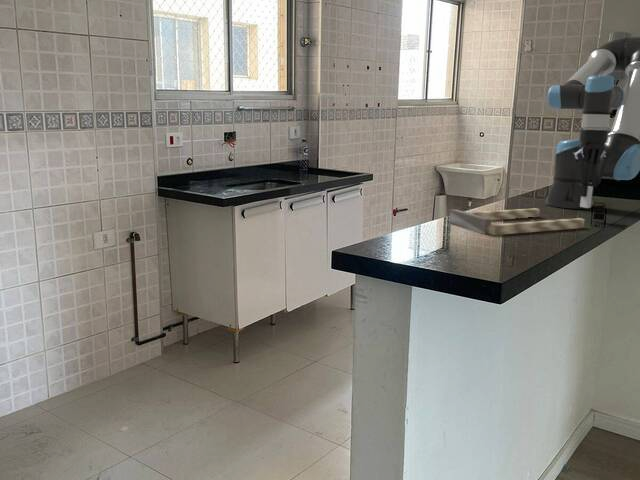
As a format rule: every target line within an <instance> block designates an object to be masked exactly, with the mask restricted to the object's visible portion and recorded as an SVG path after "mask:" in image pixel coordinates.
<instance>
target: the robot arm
mask: <svg viewBox="0 0 640 480" xmlns="http://www.w3.org/2000/svg"><path fill="white" fill-rule="evenodd" d="M614 72H625V75H626V76H627V79H626V82H625V86H624V88H622V86H619V85H618V84H615V77H614V76H613V75H610V74H612V73H614ZM546 99H547V106H548V107H549V108H550V109H552V110H554V109H557V110H582V117H581V119H582V120H581V126H580V127H581V128H582V129H581V130H580V133H579V139H577V138H576V139H568V140H566V139H565V140H560V141H559V142H558V143H557V145H556V152H555V160H554V169H553V180H552V185H551V187H550V189H549V192H548V194H547V196H546V198H545V204H546V205H547V206H549V207H555V208H561V209H562V208H563V209H573V210H574V209H577V210H578V209H579V210H580V209H583V210H584V209H591V208H592V207H593V199H592V198H593V196H594V189H595V187H597V186H598V185H600V184H601V182H602V179H607V180H616V181H621V180H622V181H629V180H632V179H634V178H636V176H637V175H638V174H639V172H640V138H639V136H640V36H629V37H628V36H626V37H625V36H623V37H622V36H621V37H618V38H615V39H613V40H610V41H608V42H605V43H604V44H602V45H600V46H599V47H597V48H596V49H595V50H594V51H592V53H591V54H590V55H589V56H588V58H587V62H585V63H584V64H583V65H582V66H581V67H579V69H578V70H577V71H576V72H575V73H574V74H572V76H571V77H569V79H568V80H567V81H566V82H564V84H558V85H557V84H555V85H554V84H553V85H551V86H550V87H549V89H548V91H547V97H546ZM614 110H617V111H616V114H615V117H614V120H613V123H612V126H611V130H610V132H609V131H608V130H607V129H609V127H610V118H611V111H614Z"/></svg>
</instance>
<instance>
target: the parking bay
mask: <svg viewBox="0 0 640 480" xmlns="http://www.w3.org/2000/svg"><path fill="white" fill-rule="evenodd" d="M540 210H541V209H540V208H536V207H533V208H532V207H531V208H517V209H501V210H483V211H469V212H467V211H464V210H463V211H462V210H459V209H450V210H449V221H448V222H449V224H450V225H452V226H453V225H454V226H457V227H460V228H462V229H463V228H464V229H467V230H470V231H473V232H475V233H480V234H483V235H492V236H500V235H514V234H525V233H537V232H538V233H539V232H547V231H548V232H551V231H560V230H561V231H563V230H572V229H573V230H574V229H585V218H580V217H576V218H561V219H560V218H559V219H547V220H535V221H532V220H531V221H522V222H521V221H519V222H507V223H495V224H493V223H492V221H501V220H512V219H513V220H517V219H516V218H518V219H529V218H528V217H533V218H540Z"/></svg>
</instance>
